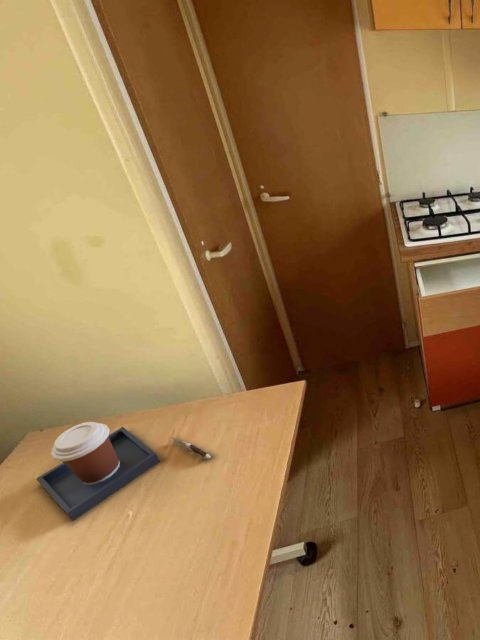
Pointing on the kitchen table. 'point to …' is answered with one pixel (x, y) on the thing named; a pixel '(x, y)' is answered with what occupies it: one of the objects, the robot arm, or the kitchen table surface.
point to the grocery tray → (84, 497)
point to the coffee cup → (87, 452)
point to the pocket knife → (194, 449)
